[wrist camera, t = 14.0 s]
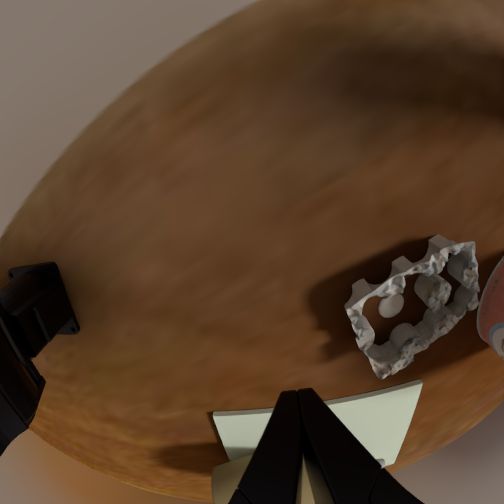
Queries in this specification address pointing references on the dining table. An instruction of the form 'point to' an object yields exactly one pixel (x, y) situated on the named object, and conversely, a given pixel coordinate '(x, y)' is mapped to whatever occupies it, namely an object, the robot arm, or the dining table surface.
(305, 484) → the tan nozzle bottle
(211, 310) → the dining table surface
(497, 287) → the canned food
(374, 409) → the mat
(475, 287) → the egg carton
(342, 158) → the dining table surface
